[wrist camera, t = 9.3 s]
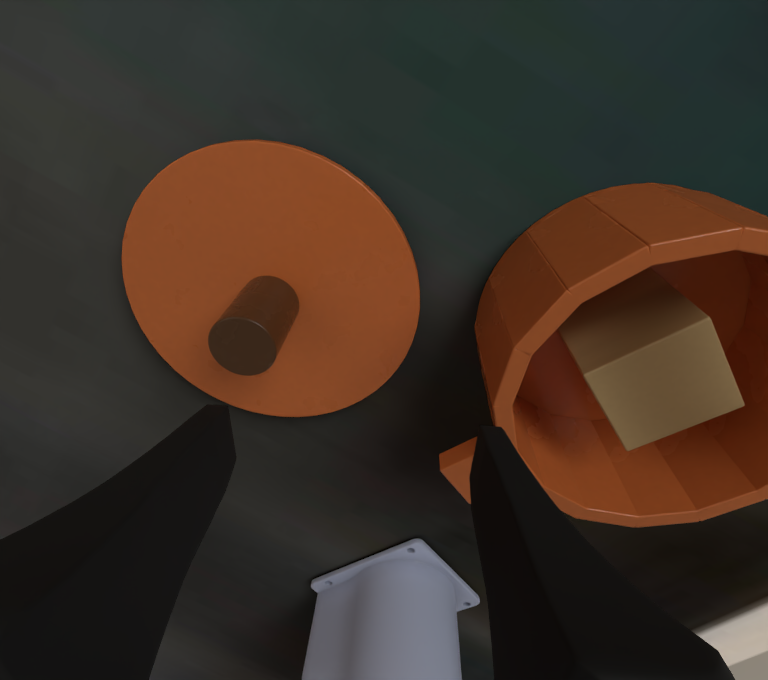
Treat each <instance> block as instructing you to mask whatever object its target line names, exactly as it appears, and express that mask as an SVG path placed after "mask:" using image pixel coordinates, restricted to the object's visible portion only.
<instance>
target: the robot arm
mask: <svg viewBox="0 0 768 680" xmlns="http://www.w3.org/2000/svg"><path fill="white" fill-rule="evenodd" d="M235 461H236V452H235V446H234V440H233V434H232V428H231V422H230V415H229V409H228V406H220V405H206V406H205V407H203V408H202V409H201V410H200V411H198V412H197V413H196V414H195V415H193V416H192V417H191V418H190V419H188V420H187V421H186V422H185V423H183V424H182V425H181V426H180V427H179V428H177V429H176V430H175V431H174V432H172V433H171V434H170V435H169V436H167V437H166V438H165V439H164V440H162V441H161V442H160V443H158V444H157V445H156V446H155V447H153V448H152V449H151V450H149V451H148V452H147V453H145V454H144V455H143V456H141V457H140V458H138V459H137V460H136V461H134V462H133V463H132V464H130V465H129V466H127V467H126V468H125V469H123V470H122V471H120V472H119V473H118V474H116V475H115V476H113V477H112V478H110V479H109V480H107V481H106V482H104V483H103V484H101V485H100V486H98V487H96V488H95V489H93V490H92V491H90V492H88V493H87V494H85V495H83V496H82V497H80V498H79V499H77V500H75V501H73V502H72V503H70V504H68V505H66V506H65V507H63V508H61V509H59V510H57V511H55V512H53V513H52V514H50V515H48V516H46V517H44V518H42V519H41V520H39V521H37V522H35V523H33V524H31V525H29V526H27V527H25V528H23V529H21V530H19V531H17V532H15V533H13V534H11V535H9V536H7V537H5V538H3V539H1V540H0V680H149V677H150V674H151V671H152V668H153V665H154V661H155V658H156V655H157V652H158V649H159V647H160V644H161V641H162V638H163V635H164V632H165V629H166V626H167V624H168V621H169V618H170V615H171V612H172V610H173V607H174V604H175V601H176V599H177V596H178V593H179V591H180V588H181V585H182V583H183V580H184V578H185V575H186V573H187V571H188V568H189V566H190V564H191V562H192V560H193V558H194V556H195V554H196V551H197V549H198V547H199V545H200V543H201V541H202V539H203V537H204V535H205V533H206V531H207V529H208V527H209V525H210V523H211V521H212V519H213V517H214V514H215V512H216V510H217V508H218V506H219V504H220V502H221V500H222V498H223V495H224V493H225V491H226V488H227V486H228V483H229V480H230V477H231V474H232V471H233V468H234V465H235ZM469 480H470V497H471V510H472V516H473V522H474V528H475V533H476V539H477V544H478V549H479V555H480V560H481V566H482V571H483V576H484V582H485V587H486V594H487V601H488V609H489V620H490V631H491V642H492V654H493V667H494V680H735V679H734V677H733V675H732V673H731V671H730V670H729V668H728V667H727V665H726V663H725V662H724V660H723V658H722V657H721V655H720V653H719V652H718V650H716V649H715V648H713V647H712V646H711V645H709V644H708V643H707V642H705V641H704V640H703V639H701V638H700V637H699V636H697V635H696V634H695V633H693V632H692V631H690V630H689V629H688V628H686V627H685V626H684V625H682V624H681V623H680V622H678V621H677V620H676V619H674V618H673V617H672V616H670V615H669V614H668V613H667V612H665V611H664V610H663V609H662V608H660V607H659V606H658V605H657V604H656V603H654V602H653V601H652V600H651V599H649V598H648V597H647V596H646V595H645V594H643V593H642V592H641V591H640V590H639V589H638V588H636V587H635V586H634V585H633V584H632V583H631V582H630V581H628V580H627V579H626V578H625V577H624V576H623V575H622V574H621V573H620V572H619V571H618V570H617V569H615V568H614V567H613V566H612V565H611V564H610V563H609V562H608V561H607V560H606V559H605V558H604V557H603V556H602V555H601V554H600V553H599V552H598V551H597V550H596V549H595V548H594V547H593V546H592V545H591V544H590V543H589V542H588V541H587V540H586V539H585V538H584V537H583V536H582V535H581V534H580V533H579V531H578V530H577V529H576V528H575V527H574V526H573V525H572V524H571V522H570V521H569V520H568V519H567V518H566V517H565V515H564V514H563V513H562V512H561V510H560V509H559V508H558V507H557V506H556V504H555V503H554V502H553V501H552V499H551V498H550V497H549V495H548V494H547V493H546V491H545V490H544V489H543V487H542V486H541V485H540V483H539V482H538V481H537V479H536V478H535V476H534V475H533V474H532V472H531V471H530V469H529V468H528V466H527V465H526V464H525V462H524V461H523V459H522V458H521V456H520V454H519V453H518V451H517V450H516V448H515V447H514V445H513V444H512V442H511V440H510V439H509V437H508V435H507V434H506V432H505V431H504V429H503V428H502V427H497V426H484V425H480V426H479V431H478V436H477V441H476V446H475V451H474V456H473V461H472V466H471V471H470V476H469ZM311 588H312V589H313V590H314V591H316V592H317V593H318V595H317V600H316V605H315V611H314V616H313V621H312V627H311V632H310V637H309V642H308V648H307V653H306V658H305V663H304V669H303V674H302V680H462V677H461V664H460V650H459V637H458V624H457V611H461V610H464V609H467V608H470V607H473V606H476V605H478V604H479V603H480V600H479V596H478V595H477V594H476V593H475V592H474V591H473V590H472V589H471V588H470V587H469V586H468V585H467V584H466V583H465V582H464V581H463V580H462V579H461V578H460V577H459V576H458V575H457V574H456V573H455V572H454V571H453V570H452V569H451V568H450V567H449V566H448V565H447V564H446V563H445V562H444V561H443V560H442V559H441V558H440V557H439V556H438V555H437V554H436V553H435V552H434V551H433V550H432V549H431V548H430V547H429V546H428V545H427V544H426V543H425V542H424V541H423V540H421V539H419V538H415V539H412V540H409V541H407V542H404V543H402V544H400V545H397V546H395V547H392V548H390V549H387V550H385V551H382V552H380V553H377V554H375V555H372V556H370V557H367V558H365V559H362V560H360V561H357V562H355V563H352V564H350V565H347V566H345V567H342V568H340V569H337V570H335V571H332V572H330V573H327V574H325V575H322V576H320V577H317V578H315V579H313V580H312V582H311Z"/></svg>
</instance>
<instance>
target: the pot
mask: <svg viewBox="0 0 768 680" xmlns="http://www.w3.org/2000/svg"><path fill="white" fill-rule="evenodd" d="M649 267H650V268H651V269H652V270H654V271H655V272H656V273H657V274H658V275H660V276H661V277H662V278H663V279H664V280H666V281H667V282H668V283H669V284H670V285H672V286H673V287H674V288H675V289H676V290H678V291H679V292H680V293H681V294H682V295H684V296H685V297H686V298H687V299H688V300H690V301H691V302H692V303H693V304H695V305H696V306H697V307H698V308H699V309H701V310H702V311H703V312H704V313H705V314H707V315H708V316H709V317H710V318H711V320H712V323H713V325H714V328H715V330H716V333H717V335H718V338H719V341H720V343H721V346H722V348H723V351H724V353H725V356H726V358H727V361H728V363H729V366H730V368H731V371H732V373H733V376H734V378H735V381H736V383H737V386H738V388H739V391H740V393H741V396H742V399H743V401H744V404H745V405H744V406H743V407H741V408H738V409H736V410H733V411H731V412H728V413H726V414H723V415H720V416H718V417H715V418H713V419H710V420H708V421H705V422H702V423H700V424H697V425H695V426H692V427H690V428H687V429H684V430H682V431H679V432H677V433H674V434H671V435H669V436H666V437H664V438H661V439H659V440H656V441H653V442H651V443H648V444H646V445H643V446H641V447H638V448H635V449H633V450H630V451H626V450H625V449H624V447H623V445H622V444H621V442H620V440H619V438H618V437H617V435H616V433H615V432H614V430H613V428H612V426H611V425H610V423H609V421H608V419H607V418H606V416H605V414H604V413H603V411H602V409H601V407H600V406H599V404H598V402H597V400H596V399H595V397H594V395H593V394H592V392H591V390H590V388H589V387H588V385H587V383H586V382H585V380H584V378H583V376H582V375H581V373H580V371H579V369H578V367H577V365H576V364H575V362H574V360H573V358H572V356H571V354H570V353H569V351H568V349H567V347H566V345H565V344H564V342H563V340H562V338H561V336H560V334H559V333H558V331H557V329H558V327H559V326H560V325H561V324H562V323H563V322H564V321H565V320H566V319H567V318H568V317H569V316H570V315H571V314H572V313H573V312H574V311H575V310H576V309H577V308H578V306H579V305H580V304H581V303H583V302H585V301H587V300H589V299H591V298H593V297H594V296H596V295H598V294H600V293H602V292H604V291H606V290H608V289H609V288H611V287H613V286H615V285H617V284H619V283H621V282H623V281H624V280H626V279H628V278H630V277H632V276H634V275H636V274H638V273H639V272H641V271H643V270H645V269H647V268H649ZM474 329H475V335H476V342H477V348H478V354H479V360H480V367H481V372H482V376H483V381H484V385H485V390H486V395H487V399H488V404H489V408H490V413H491V417H492V422H493V426H497V427H502V428H503V429H504V431H505V432H506V434H507V435H508V437H509V439H510V440H511V442H512V444H513V445H514V447H515V448H516V450H517V451H518V453H519V454H520V456H521V458H522V459H523V461H524V462H525V464H526V465H527V466H528V468H529V469H530V471H531V472H532V474H533V475H534V476H535V478H536V479H537V481H538V482H539V483H540V485H541V486H542V487H543V489H544V490H545V491H546V493H547V494H548V495H549V497H550V498H551V499H552V501H553V502H554V503H555V504H556V506H557V507H558V508H559V509H560V510H561V511H563V512H565V513H567V514H569V515H570V516H572V517H574V518H578V519H583V520H589V521H596V522H602V523H608V524H614V525H621V526H627V527H637V528H638V527H648V526H659V525H669V524H680V523H690V522H698V521H703V520H706V519H709V518H712V517H715V516H718V515H721V514H724V513H727V512H730V511H733V510H736V509H739V508H742V507H745V506H748V505H751V504H754V503H757V502H760V501H763V500H765V499H768V217H767V216H765V215H762V214H760V213H757V212H755V211H753V210H750V209H748V208H745V207H743V206H740V205H738V204H735V203H733V202H730V201H728V200H726V199H723V198H721V197H718V196H716V195H713V194H711V193H707V192H701V191H696V190H691V189H687V188H683V187H679V186H676V185H667V184H658V183H642V184H628V185H622V186H615V187H610V188H607V189H603V190H599V191H596V192H592V193H589V194H587V195H584V196H582V197H579V198H577V199H574V200H572V201H570V202H568V203H566V204H564V205H562V206H561V207H559V208H557V209H555V210H553V211H551V212H550V213H548V214H547V215H546V216H544V217H543V218H541V219H540V220H538V221H537V222H536V223H534V224H533V225H532V226H531V227H530V228H528V229H527V230H526V231H525V232H524V233H523V234H522V235H520V236H519V237H518V238H517V239H516V241H515V242H514V243H513V244H512V245H511V246H510V247H509V248H508V249H507V251H506V252H505V253H504V254H503V256H502V257H501V259H500V260H499V261H498V263H497V264H496V266H495V267H494V269H493V271H492V273H491V275H490V276H489V278H488V280H487V282H486V284H485V287H484V290H483V292H482V295H481V298H480V301H479V306H478V310H477V316H476V322H475V328H474ZM476 441H477V437H475V438H472V439H470V440H468V441H466V442H464V443H462V444H460V445H457V446H455V447H453V448H451V449H449V450H447V451H445V452H442V453H440V454H439V462H440V471H441V472H442V474H443V475H444V476H445V477H446V478H447V479H448V480H449V481H450V483H451V484H452V485H453V486H454V487H455V488H456V489H457V491H458V492H459V493H460V494H461V495H462V496H463V497H464V498H465V500H466V501H467V502H468V503H469V504H471V497H470V480H469V476H470V471H471V466H472V461H473V456H474V451H475V446H476Z"/></svg>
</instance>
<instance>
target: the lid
mask: <svg viewBox="0 0 768 680" xmlns="http://www.w3.org/2000/svg"><path fill="white" fill-rule="evenodd" d="M122 271H123V279H124V284H125V289H126V293H127V297H128V299H129V302H130V305H131V308H132V311H133V313H134V315H135V317H136V319H137V321H138V323H139V325H140V327H141V329H142V330H143V332H144V334H145V335H146V337H147V338H148V340H149V341H150V343H151V344H152V345H153V347H154V348H155V349H156V350H157V352H158V353H159V354H160V355H161V357H162V358H163V359H164V360H165V361H166V362H167V363H168V364H169V365H170V366H171V367H172V368H173V369H174V370H175V371H177V372H178V373H179V374H180V375H181V376H183V377H184V378H185V379H186V380H188V381H189V382H190V383H192V384H193V385H195V386H196V387H198V388H199V389H201V390H202V391H204V392H206V393H207V394H209V395H211V396H213V397H215V398H217V399H218V400H221V401H223V402H226V403H228V404H230V405H233V406H235V407H238V408H241V409H245V410H248V411H251V412H256V413H260V414H265V415H272V416H281V417H305V416H316V415H321V414H326V413H330V412H334V411H337V410H340V409H343V408H346V407H348V406H350V405H353V404H355V403H357V402H359V401H361V400H363V399H364V398H366V397H367V396H369V395H370V394H372V393H373V392H375V391H376V390H377V389H378V388H379V387H381V386H382V385H383V384H384V383H385V382H386V381H387V380H388V379H389V378H390V377H391V376H392V375H393V374H394V373H395V371H396V370H397V369H398V367H399V366H400V364H401V363H402V361H403V360H404V358H405V357H406V355H407V353H408V351H409V348H410V346H411V344H412V342H413V339H414V335H415V332H416V329H417V325H418V318H419V312H420V285H419V278H418V271H417V267H416V263H415V260H414V256H413V253H412V250H411V247H410V245H409V243H408V241H407V238H406V236H405V234H404V232H403V230H402V228H401V227H400V225H399V223H398V222H397V220H396V219H395V217H394V215H393V214H392V212H391V211H390V210H389V209H388V207H387V206H386V205H385V204H384V202H383V201H382V200H381V199H380V198H379V196H378V195H377V194H375V193H374V192H373V191H372V190H371V189H370V188H369V187H368V186H367V185H366V184H365V183H364V182H363V181H362V180H360V179H359V178H358V177H356V176H355V175H354V174H352V173H351V172H350V171H348V170H347V169H345V168H344V167H342V166H341V165H339V164H337V163H335V162H333V161H332V160H330V159H328V158H326V157H324V156H322V155H320V154H317V153H315V152H312V151H310V150H307V149H305V148H302V147H298V146H294V145H290V144H286V143H282V142H276V141H266V140H234V141H228V142H223V143H218V144H213V145H210V146H207V147H204V148H202V149H199V150H196V151H193V152H190V153H188V154H187V155H185V156H183V157H181V158H179V159H178V160H176V161H174V162H172V163H171V164H170V165H168V166H167V167H166V168H165V169H163V170H162V171H161V172H160V173H158V174H157V175H156V176H155V177H154V178H153V179H152V181H151V182H150V183H149V184H148V185H147V186H146V187H145V188H144V190H143V191H142V193H141V195H140V196H139V198H138V199H137V201H136V203H135V204H134V206H133V209H132V211H131V214H130V216H129V219H128V221H127V225H126V229H125V233H124V238H123V245H122Z"/></svg>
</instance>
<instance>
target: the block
mask: <svg viewBox="0 0 768 680" xmlns="http://www.w3.org/2000/svg"><path fill="white" fill-rule="evenodd" d="M557 331H558V333H559V334H560V336H561V338H562V340H563V342H564V344H565V345H566V347H567V349H568V351H569V353H570V354H571V356H572V358H573V360H574V362H575V364H576V365H577V367H578V369H579V371H580V373H581V375H582V376H583V378H584V380H585V382H586V383H587V385H588V387H589V388H590V390H591V392H592V394H593V395H594V397H595V399H596V400H597V402H598V404H599V406H600V407H601V409H602V411H603V413H604V414H605V416H606V418H607V419H608V421H609V423H610V425H611V426H612V428H613V430H614V432H615V433H616V435H617V437H618V438H619V440H620V442H621V444H622V445H623V447H624V449H625V450H626V451H630V450H633V449H635V448H638V447H641V446H643V445H646V444H648V443H651V442H653V441H656V440H659V439H661V438H664V437H666V436H669V435H671V434H674V433H677V432H679V431H682V430H684V429H687V428H690V427H692V426H695V425H697V424H700V423H702V422H705V421H708V420H710V419H713V418H715V417H718V416H720V415H723V414H726V413H728V412H731V411H733V410H736V409H738V408H741V407H743V406H744V405H745V404H744V401H743V399H742V396H741V393H740V391H739V388H738V386H737V383H736V381H735V378H734V376H733V373H732V371H731V368H730V366H729V363H728V361H727V358H726V356H725V353H724V351H723V348H722V346H721V343H720V341H719V338H718V335H717V333H716V330H715V328H714V325H713V323H712V320H711V318H710V317H709V316H708V315H707V314H705V313H704V312H703V311H702V310H701V309H699V308H698V307H697V306H696V305H695V304H693V303H692V302H691V301H690V300H688V299H687V298H686V297H685V296H684V295H682V294H681V293H680V292H679V291H678V290H676V289H675V288H674V287H673V286H672V285H670V284H669V283H668V282H667V281H666V280H664V279H663V278H662V277H661V276H660V275H658V274H657V273H656V272H655V271H654V270H652V269H651V268H650V267H649V268H647V269H645V270H643V271H641V272H639V273H638V274H636V275H634V276H632V277H630V278H628V279H626V280H624V281H623V282H621V283H619V284H617V285H615V286H613V287H611V288H609V289H608V290H606V291H604V292H602V293H600V294H598V295H596V296H594V297H593V298H591V299H589V300H587V301H585V302H583V303H581V304H580V305H579V306H578V308H577V309H576V310H575V311H574V312H573V313H572V314H571V315H570V316H569V317H568V318H567V319H566V320H565V321H564V322H563V323H562V324H561V325H560V326H559V327H558V329H557Z"/></svg>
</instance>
